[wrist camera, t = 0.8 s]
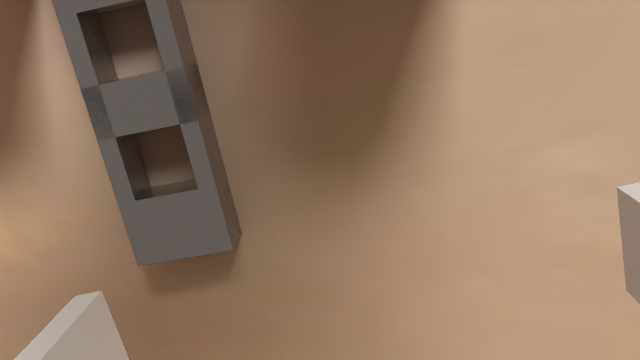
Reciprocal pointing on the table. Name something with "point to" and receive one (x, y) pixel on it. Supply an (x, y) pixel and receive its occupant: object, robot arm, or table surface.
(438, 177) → the table surface
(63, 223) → the table surface
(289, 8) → the table surface
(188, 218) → the rail
